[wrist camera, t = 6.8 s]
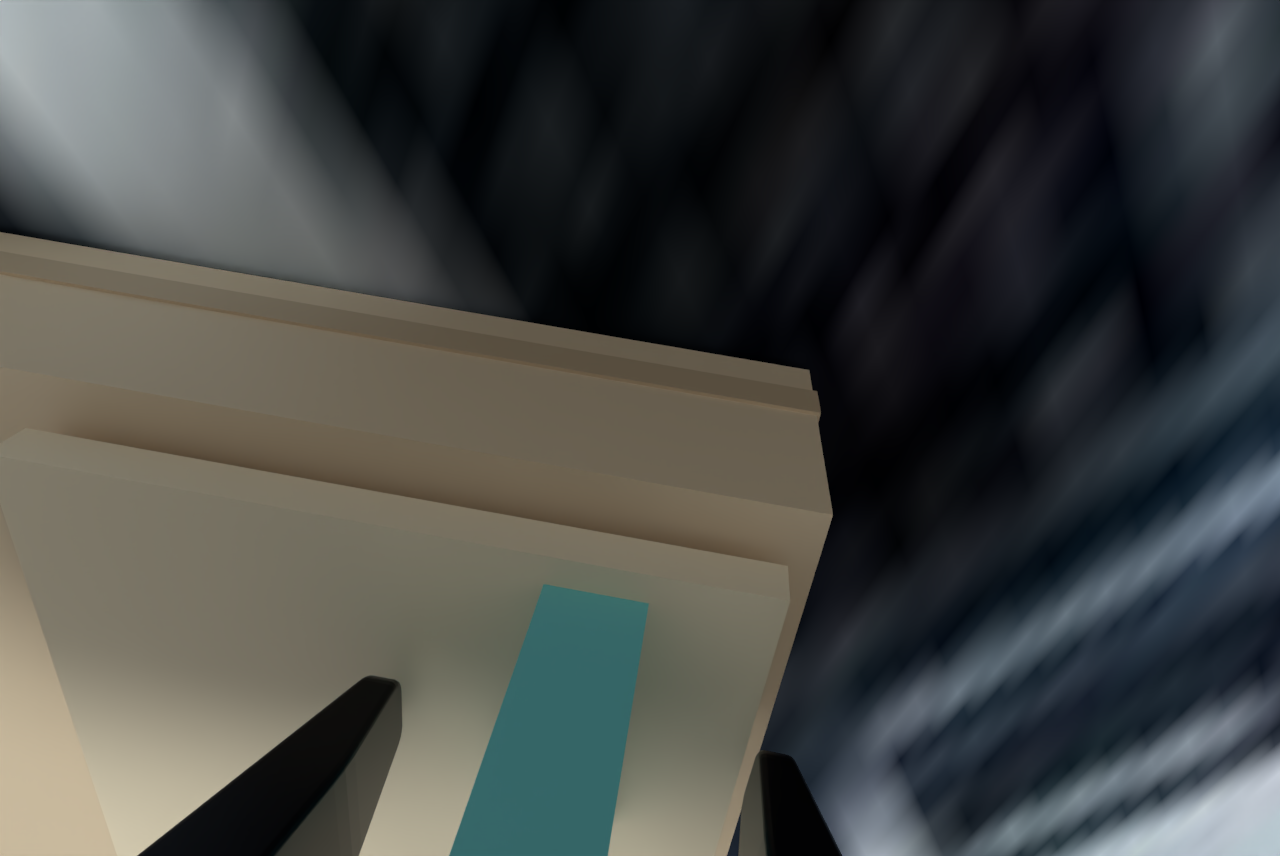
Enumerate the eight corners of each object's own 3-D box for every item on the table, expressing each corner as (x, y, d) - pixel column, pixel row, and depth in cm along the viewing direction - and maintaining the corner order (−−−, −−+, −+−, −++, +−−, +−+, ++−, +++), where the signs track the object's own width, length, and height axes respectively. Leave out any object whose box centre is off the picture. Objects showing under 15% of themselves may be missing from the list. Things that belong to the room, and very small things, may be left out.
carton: (813, 368, 12) (838, 512, 9) (664, 926, 20) (647, 1117, 17) (-370, 166, 13) (-768, 226, 10) (-71, 778, 21) (-231, 932, 18)
